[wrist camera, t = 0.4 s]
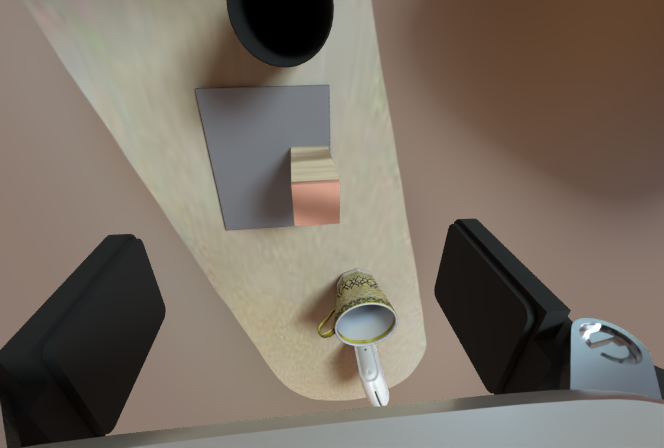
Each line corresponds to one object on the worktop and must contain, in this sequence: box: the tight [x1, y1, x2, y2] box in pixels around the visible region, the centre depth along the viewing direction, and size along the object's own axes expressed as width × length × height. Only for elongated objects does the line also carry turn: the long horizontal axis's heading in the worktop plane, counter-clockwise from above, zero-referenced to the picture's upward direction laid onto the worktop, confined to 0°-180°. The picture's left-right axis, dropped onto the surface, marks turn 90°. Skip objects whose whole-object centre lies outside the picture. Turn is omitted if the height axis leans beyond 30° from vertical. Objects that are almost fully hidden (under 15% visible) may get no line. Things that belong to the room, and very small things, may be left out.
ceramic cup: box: [318, 269, 398, 346], centre depth 53 cm, size 13×10×10 cm
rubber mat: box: [195, 85, 330, 230], centre depth 44 cm, size 20×16×1 cm
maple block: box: [291, 145, 340, 226], centre depth 39 cm, size 5×5×12 cm
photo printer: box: [354, 344, 389, 407], centre depth 62 cm, size 10×4×12 cm, turn 16°
